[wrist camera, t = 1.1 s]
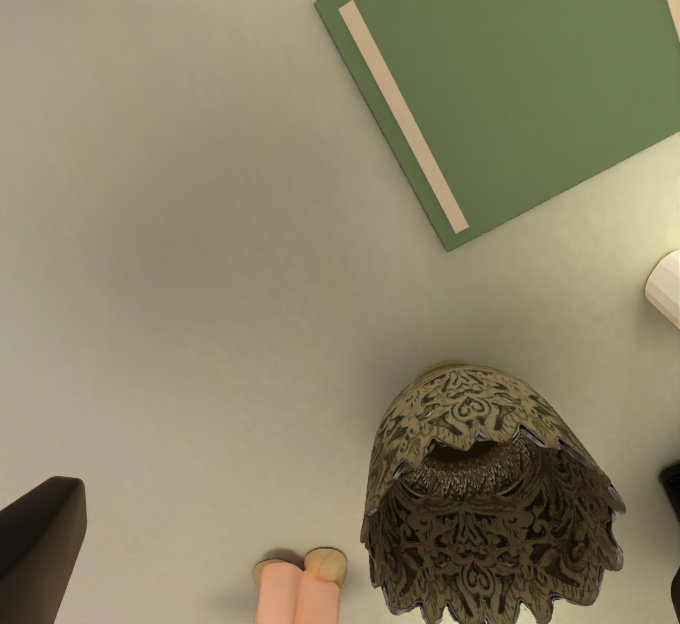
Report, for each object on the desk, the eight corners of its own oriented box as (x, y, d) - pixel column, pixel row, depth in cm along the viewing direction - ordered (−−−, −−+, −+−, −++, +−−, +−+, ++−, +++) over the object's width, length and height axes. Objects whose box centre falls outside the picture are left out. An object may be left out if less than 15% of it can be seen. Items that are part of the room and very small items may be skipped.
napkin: (731, 100, 19) (738, 102, 19) (446, 249, 22) (447, 253, 21) (640, -212, 16) (646, -217, 16) (313, 3, 18) (313, 3, 18)
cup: (346, 318, 23) (348, 458, 16) (547, 298, 23) (642, 432, 15) (366, 474, 26) (374, 649, 19) (541, 459, 26) (618, 632, 19)
